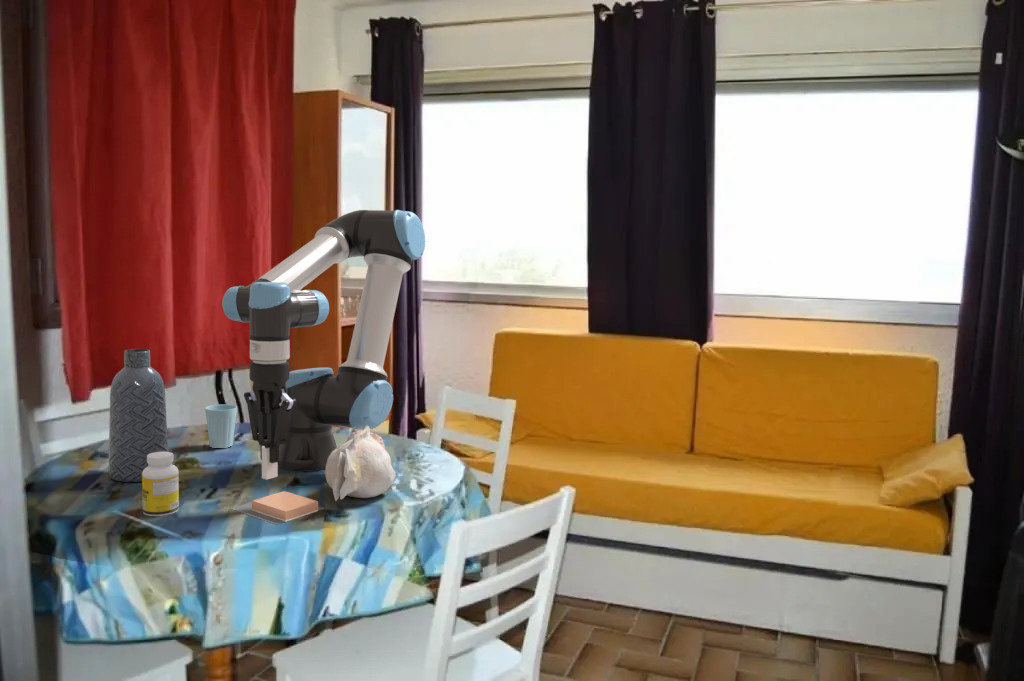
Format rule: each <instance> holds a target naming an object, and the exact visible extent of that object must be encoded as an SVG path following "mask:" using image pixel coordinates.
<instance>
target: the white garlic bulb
mask: <svg viewBox="0 0 1024 681" xmlns="http://www.w3.org/2000/svg"><path fill="white" fill-rule="evenodd" d="M324 473H325V474H324V475H325V479H326V482H327V484H328V486H329V487H330V488H331V489H332V494H333V496H334V497H333V498H334V500H335V502H337V500H339V499H340V500H343V499H344V498H345V497H346V496H347V497H350V498H351V497H353V498H356V499H369V498H375V497H378V496H380V495H382V494H383V493H385V492H386V491H387V490H389V488H390V487H391V486H392V484H393V482H394V481H395V479H396V476H397V475H396V474H397V473H396V471H395V469H394V468H393V466H392V459H391V456H390V454H389V452H388V451H387V448H386V446H385V442H384V439H383V437H381V436H379V435H378V434H377V433H374V432H371V429H370V428H369V427H368V426H367V425H366V426H365V428H364V429H362V430H361V429H357V430H356V431H355V432H351V433H350V434H349V436H348V437H347V439H346V440H345V442H344V443H342V444H341V445H340V446H339V447H337V449H335V450H334V451H333V452H331V454H330V455H329V457H328V459H327V464H326V469H325V471H324Z"/></svg>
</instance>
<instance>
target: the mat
mask: <svg viewBox="0 0 1024 681" xmlns="http://www.w3.org/2000/svg"><path fill="white" fill-rule="evenodd" d="M325 509H326V508H325V507H323V506H319V505H318V511H319V512H320V511H322V510H325ZM229 510H232V511H235V512H238V513H242V514H244V515H246V516H247V515H248V516H250V517H252V518H255V519H259V520H262V521H265V522H267V523H271V524H273V525H277V526H278V525H280V524H283V523H286V522H285V521H282V520H279V519H276V518H273V517H270V516H267V515H264V514H261V513H258V512H255V511H252V501H251V502H247V503H244V504H240V505H237V506H234V507H230V508H229ZM318 511H317V512H318Z"/></svg>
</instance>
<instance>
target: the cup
mask: <svg viewBox="0 0 1024 681" xmlns="http://www.w3.org/2000/svg"><path fill="white" fill-rule="evenodd" d="M204 410H205V417H206V426H207V435H208V442H209V447H212V448H227V447H230V446H232V445H234V438H235V437H234V436H235V435H234V434H235V427H236V426H235V425H236V421H237V420H236V419H237V410H238V406H237V405H235V404H221V403H220V404H211V405H208V406H206V407H204ZM232 447H233V446H232ZM212 448H211V449H212ZM227 449H228V448H227Z"/></svg>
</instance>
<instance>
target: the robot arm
mask: <svg viewBox="0 0 1024 681" xmlns="http://www.w3.org/2000/svg"><path fill="white" fill-rule="evenodd" d="M425 247H426V235H425V230H424V225H423V224H422V221H421V220H420V217H418V215H416V213H414V212H412V211H408V210H407V211H406V210H400V209H395V210H382V209H381V210H379V209H378V210H377V209H375V210H373V209H359V210H354V211H351V212H348V213H344V214H343V215H341V216H338V217H337V218H335V219H333V220H332V221H329V222H328V223H326V224H325V225H324V226H322V227H321V228H319V229H318V230H317V231H316V233H315V235H314V238H313V239H311V240H310V241H308V242H307V243H306V244H305V245H303V246H302V247H300V248H299V249H298V250H296V251H294V252H293V253H292V254H290V255H289V256H287V257H286V258H285V259H284V260H282V261H281V262H279V263H278V264H276V265H275V266H274V267H273V268H271V269H270V270H268V271H267V272H266V273H264V274H262V275H261V276H260V277H258V279H255V281H253V282H252V283H250V284H249V285H247V286H244V285H239V286H232V287H229V288H228V289H227V290H226V292H224V294H223V297H222V304H221V306H222V309H223V313H224V315H225V316H226V317H227V318H228V319H229V320H231V321H236V322H241V323H243V324H246V323H249V359H250V360H252V361H251V362H250V363H249V380H250V381H251V382H253V385H252V387H251V388H252V389H251V390H250V391H247V392H244V393H243V398H244V399H245V402H246V406H247V412H248V418H249V424H250V430H251V438H252V440H253V441H255V442H258V445H259V446H260V452H259V453H260V461H261V479H263V480H270V479H275V478H277V477H278V476H279V475H278V472H279V471H278V470H279V468H283V469H286V470H293V471H297V472H312V471H321V470H326V464H327V459H328V457H329V455H330V454H331V452H333V451H334V450H335V449H337V448H338V447H337V442H336V440H335V436H334V433H333V426H339V427H346V428H352V429H355V430H361V429H362V430H364V428H365V426H366V425H367V426H368V427H369V428H370V430H373V429H377V428H378V427H380V426H381V424H383V423H384V422H385V421H386V419H387V418H388V416H389V414H390V412H391V410H392V406H393V402H394V394H393V387H392V385H391V384H390V383H389V382H388V373H387V372H386V371H385V369H384V365H385V359H386V355H387V350H388V346H389V341H390V335H391V331H392V327H393V322H394V317H395V313H396V308H397V304H398V298H399V294H400V289H401V285H402V280H403V276H404V274H405V273H407V272H409V271H410V270H411V268H412V263H413V261H416V260H419V259H420V258H422V256H423V254H424V252H425ZM356 257H363V261H364V262H365V264H366V265H367V270H366V273H365V279H364V283H363V288H362V292H361V297H360V301H359V306H358V310H357V314H356V319H355V322H354V328H353V331H352V337H351V340H350V346H349V350H348V354H347V358H346V360H345V362H343V363H342V364H340V365H339V366H338V370H337V373H336V375H334V371H333V368H331V367H312V368H310V367H309V368H305V369H302V368H301V369H295V370H291V371H290V365H291V364H290V362H289V359H290V358H291V357H290V356H291V352H290V351H291V348H290V345H291V344H290V343H291V342H290V329H295V328H296V329H297V328H304V327H309V328H310V327H314V326H316V325H320V324H322V323H324V322H325V320H327V318H328V315H329V312H330V304H329V300H328V298H327V297H326V296H325V294H324V293H323V292H321V291H319V290H315V289H313V290H312V289H304V290H302V289H303V288H305V287H306V286H307V285H308V284H310V283H312V282H313V280H315V279H316V278H318V276H319V277H320V275H321V274H323V273H324V272H325V271H326V270H328V269H329V268H330V267H332V266H333V265H334V264H340V263H341V264H342V263H343V262H344V261H346V260H347V259H350V258H356Z"/></svg>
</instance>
